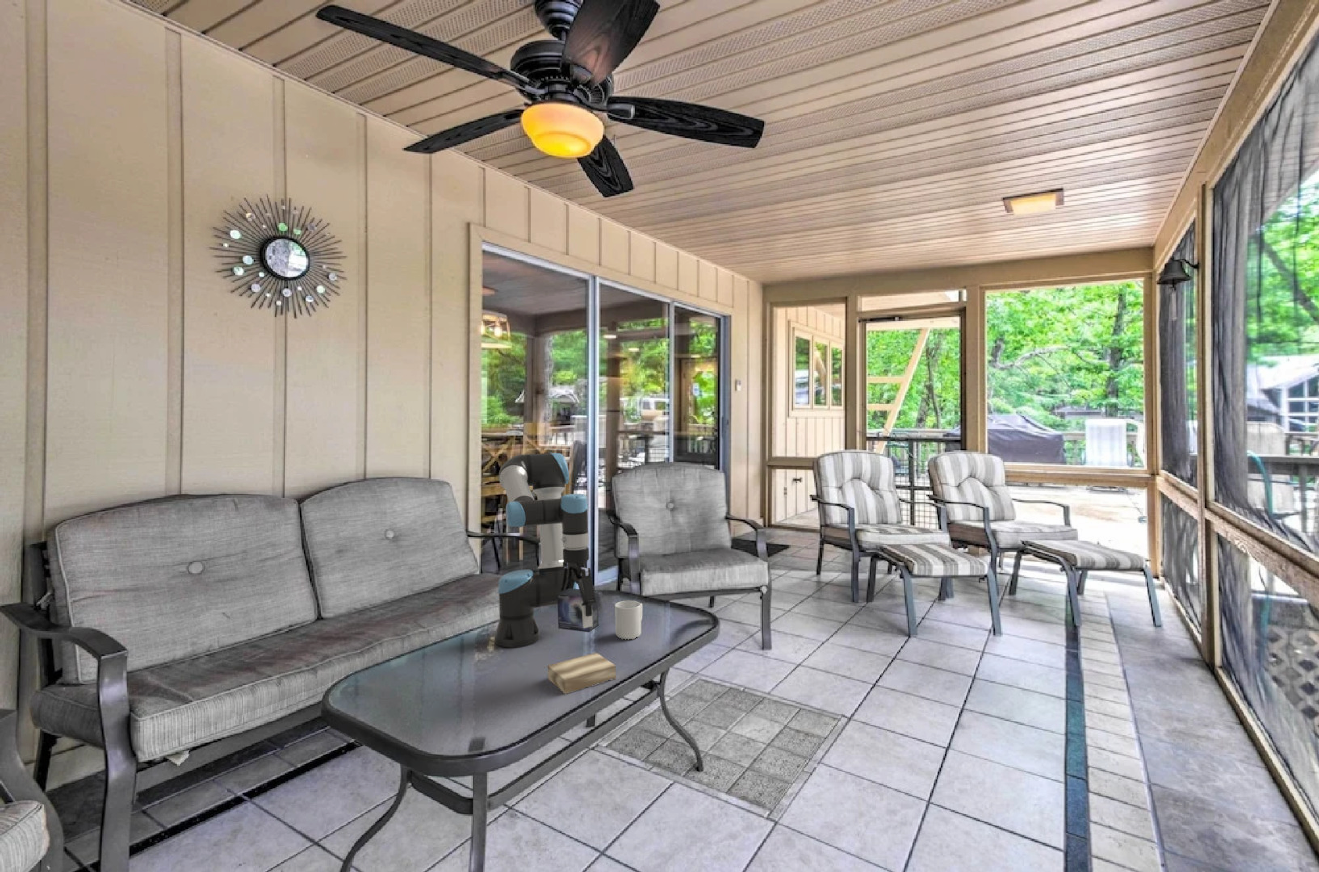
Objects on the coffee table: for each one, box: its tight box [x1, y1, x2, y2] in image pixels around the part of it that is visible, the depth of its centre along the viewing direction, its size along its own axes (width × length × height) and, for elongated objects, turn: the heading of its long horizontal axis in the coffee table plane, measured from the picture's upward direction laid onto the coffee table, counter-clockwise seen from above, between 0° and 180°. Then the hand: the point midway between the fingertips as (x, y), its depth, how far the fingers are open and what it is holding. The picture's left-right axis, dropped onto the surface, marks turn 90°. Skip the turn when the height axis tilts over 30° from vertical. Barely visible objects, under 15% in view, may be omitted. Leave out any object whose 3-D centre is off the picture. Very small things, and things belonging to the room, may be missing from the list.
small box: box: [557, 588, 600, 633], centre depth 177 cm, size 11×6×10 cm, turn 67°
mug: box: [614, 600, 643, 641], centre depth 211 cm, size 12×9×11 cm
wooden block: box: [547, 652, 617, 695], centre depth 176 cm, size 12×16×4 cm
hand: (578, 621), depth 177 cm, fingers closed on small box, 12 cm apart
